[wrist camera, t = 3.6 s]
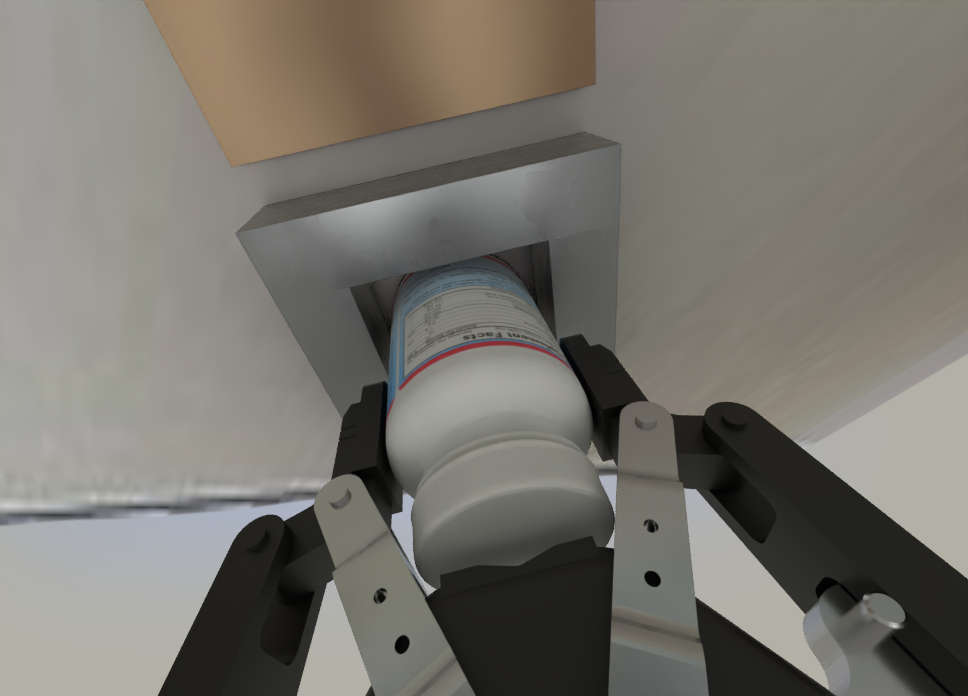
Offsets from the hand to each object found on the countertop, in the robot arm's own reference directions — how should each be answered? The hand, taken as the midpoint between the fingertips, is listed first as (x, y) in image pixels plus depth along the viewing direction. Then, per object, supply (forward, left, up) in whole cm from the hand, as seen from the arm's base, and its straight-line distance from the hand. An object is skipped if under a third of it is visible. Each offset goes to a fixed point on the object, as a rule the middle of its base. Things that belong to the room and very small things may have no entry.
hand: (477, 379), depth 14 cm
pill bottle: (0, 0, -5) cm, 5 cm away
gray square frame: (0, 0, -5) cm, 5 cm away
